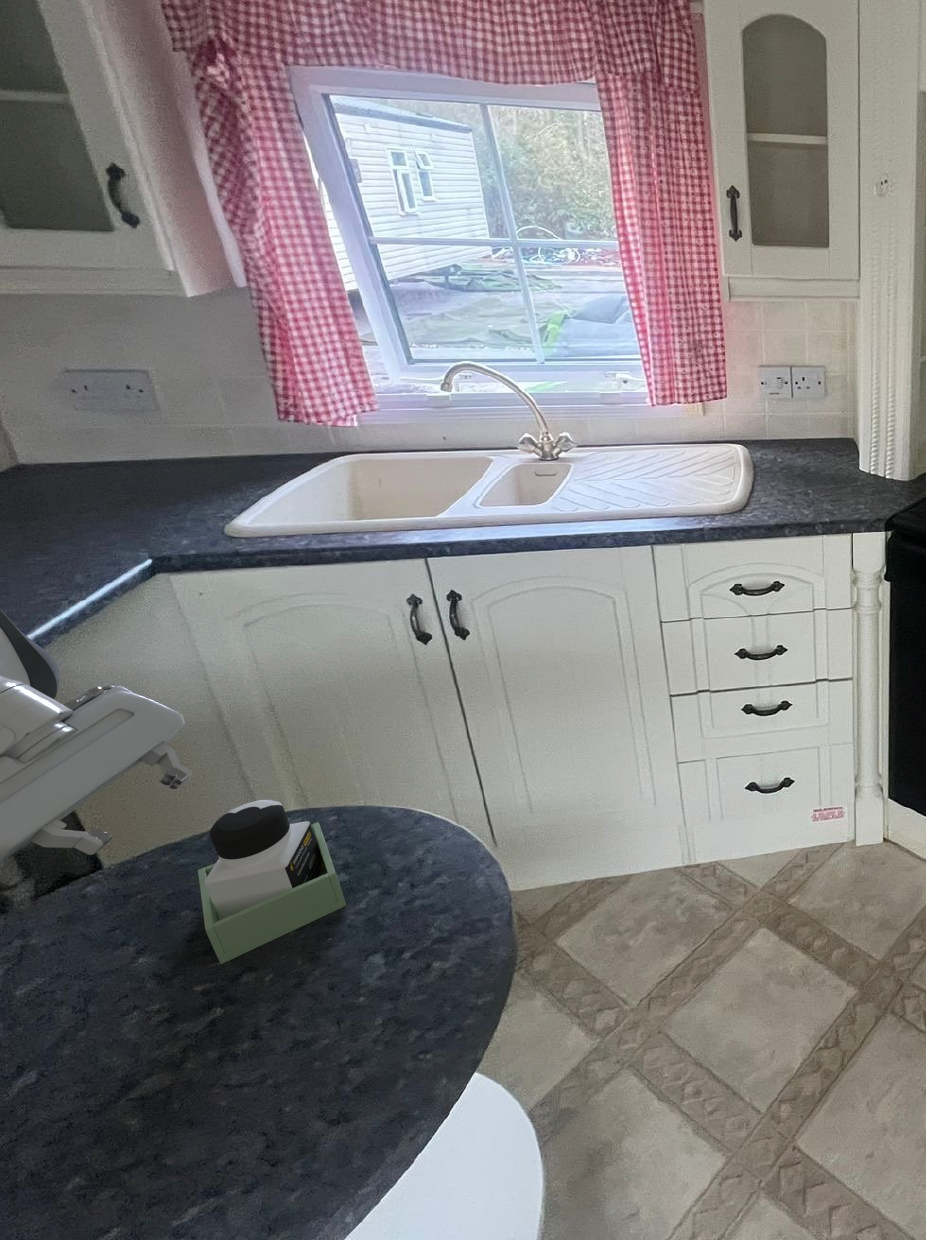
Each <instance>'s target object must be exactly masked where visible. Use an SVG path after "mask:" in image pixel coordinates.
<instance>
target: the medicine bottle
mask: <svg viewBox="0 0 926 1240" xmlns="http://www.w3.org/2000/svg"><path fill="white" fill-rule="evenodd" d="M311 825H312V823H311V822H310V821H308V820H304V821H300V822H295V823H290V821H289V818H288V816H287V814H286V811H285V808H284V805H283V804H282V803H281V802H280V801H277V800H272V799H260V800H255V801H251V802H247V803H244V804H241V805H239V806H236V807H234V808H233V809H231V810H229V811H228V812H226V813H224V814H223V815H222V816H221V817H219V818H218V819H217V820H216V821H215V822H214V823H213V825H212V826H211V828H210V829H209V837H210V839H211V842H212V845H213V847H214V849H215V852H216V853H217V856H218V859H217V860H216V862H215V863H216V864H215V865H214V867H213V869H212V870H211V872H210V873H209V875H208V876H207V878H206V879H205V881H204V884H205V887H206V889H207V891H208V894H209V896H210V898H211V900H212V903H213V905H214V907H215V909H216V912H217V914H218V916H219V919H220V920H222V919H224V918H226V917H229V916H231V915H233V914H236V913H238V912H240V911H242V910H245V909H247V908H249V907H252V906H254V905H256V904H258V903H261V902H263V901H265V900H267V899H270V898H272V897H274V896H277V895H279V894H281V893H283V892H286V891H288V890H290V889H292V888H295V887H297V886H299V885H302V884H304V883H306V882H308V881H311V880H313V879H315V878H318V877H320V875H321V873H322V871H323V869H324V867H325V863H324V861H323V858H322V855H321V852H320V849H319V847H318V844H317V841H316V838H315V835H314V833H313V830H312V827H311Z"/></svg>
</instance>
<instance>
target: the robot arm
mask: <svg viewBox="0 0 926 1240" xmlns="http://www.w3.org/2000/svg"><path fill="white" fill-rule="evenodd" d="M60 682H61V671H60V667H59V665H58V663H57V661H56V660H55V659H54V658H53V656H51V654H50V653H49V652H47V651H46V650H45V649H44V648H42V647H41V646H40V645H39V644H38V643H36V642H35V641H34V640H32V639H31V638H30V637H29V636H27V635H26V634H25V633H23V631H21V630H20V629H19V628H18V627H17V626H16V625H15V623H13V621H12V620H11V619H10V618H9V617H8V615H6V613H5V612H4V611H3V610H2V609H1V608H0V864H2V863H3V862H4V861H6V860H8V859H9V858H10V857H11V856H13V855H14V854H16V853H17V852H18V851H20V850H21V849H22V848H24V847H25V846H27V845H28V844H29V843H31V842H32V843H33V844H35V845H38V846H40V847H42V848H57V849H59V848H60V849H73V848H75V849H76V850H78V851H80V852H82V853H84V854H86V855H89V856H93V855H95V854H96V853H97V852H99V851H100V850H101V849H102V848H104V847H105V846H106V845H107V844H108V843H109V842H110V841H112V839H113V835H112V834H111V833H110V832H107V831H106V832H105V831H104V829H102V828H100V827H98V826H95V827H94V828H92V829H91V830H90V831H82V830H70V829H65V828H66V827H67V826H68V825H67V823H65V822H64V821H62V820H63V819H64V818H66V817H67V816H69V815H70V814H71V813H72V812H74V811H76V810H77V809H79V808H80V807H81V806H83V805H84V804H85V803H86V802H88V801H89V800H91V799H92V798H93V797H96V796H97V794H99V793H100V792H101V791H103V790H104V789H106V788H107V787H109V786H110V785H112V784H113V783H114V782H115V781H117V780H119V779H120V778H121V777H123V776H124V775H126V774H127V773H129V772H130V771H131V770H132V769H134V768H135V767H136V766H138V765H139V764H141V763H142V762H143V763H144V764H146V765H148V766H150V767H154V766H155V765H157V766H158V767H159V769H160V771H161V773H162V774H163V777H162V778H161V779H160V780H159V782H158V783H161V784H162V785H164V786H168V788H169V789H172V790H177V789H178V788H179V787H181V786H182V785H184V784H185V783H186V782H187V781H188V780H189V779H190V778H191V777H192V776H193V772H192V770H190V769H189V768H187V767H185V766H183V765H182V764H180V761H179V759H178V756H177V753H176V751H175V749H174V748H173V747H172V746H170V745H168V743H170V742H171V741H172V740H174V739H175V737H177V735H178V734H180V732H181V731H182V730H183V729H184V728H185V726H186V722H185V718H184V715H182V714H181V713H180V712H178V711H176V710H175V709H172V708H170V707H169V706H166V705H164V704H162V703H160V702H157V701H156V700H153V699H150V698H148V697H147V696H143V695H141V694H138V693H135V692H133V691H131V690H130V689H128V688H126V687H125V686H121V685H106V686H102V687H101V686H94V687H92V688H90V689H88V690H86V691H85V692H84V693H83V694H81V695H80V696H78V697H75V698H73V699H71V700H69V701H68V702H66V703H64V704H63V703H60V702H59V701H57V700H56V698H57V694H58V691H59V688H60V687H59V686H60Z"/></svg>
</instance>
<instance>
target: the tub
mask: <svg viewBox="0 0 926 1240" xmlns="http://www.w3.org/2000/svg"><path fill="white" fill-rule="evenodd" d="M311 827H312V830H313V833H314V835H315V838H316V841H317V844H318V847H319V849H320V852H321V855H322V858H323V861H324V863H325V867H324V869H323V871H322V873H321V875H320V877H318V878H315V879H313V880H311V881H308V882H306V883H304V884H302V885H299V886H297V887H295V888H292V889H290V890H288V891H286V892H283V893H281V894H279V895H277V896H274V897H272V898H270V899H267V900H265V901H263V902H261V903H258V904H256V905H254V906H252V907H249V908H247V909H245V910H242V911H240V912H238V913H236V914H233V915H231V916H229V917H226V918H224V919H222V920H220V919H219V916H218V914H217V912H216V909H215V907H214V905H213V903H212V900H211V898H210V896H209V894H208V891H207V889H206V887H205V884H204V881H205V879H206V878H207V876H208V875H209V873H210V872H211V870H212V869H213V867H214V865H215V864H216V862H215V863H211V864H209V865H206V866H204V867H202V868H199V869H197V875H198V883H199V891H200V899H201V906H202V915H203V922H204V923H203V924H204V931H205V932H206V935H207V937H208V940H209V941H210V944H211V946H212V948H213V950H214V952H215V955H216V957H217V959H218V961H219V964H220V965H223V964H225V963H227V962H229V961H231V960H233V959H236V958H238V957H240V956H242V955H244V954H246V953H249V952H250V951H253V950H254V949H257V948H259V947H261V946H263V945H266V944H267V943H270V942H272V941H274V940H276V939H278V938H280V937H283V936H285V935H287V934H289V933H291V932H293V931H295V930H298V929H300V928H302V927H304V926H306V925H308V924H310V923H312V922H315V921H317V920H319V919H322V918H323V917H325V916H327V915H329V914H332V913H334V912H336V911H338V910H340V909H342V908H345V907H346V906H347V903H346V900H345V899H346V898H345V897H344V893H343V890H342V887H341V883H340V881H339V878H338V874H337V872H336V869H335V865H334V862H333V859H332V857H331V852H330V850H329V847H328V845H327V841H326V839H325V836H324V833H323V831H322V830H323V829H322V827H321V825H320V821H316V822H315V823H312V824H311Z"/></svg>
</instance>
